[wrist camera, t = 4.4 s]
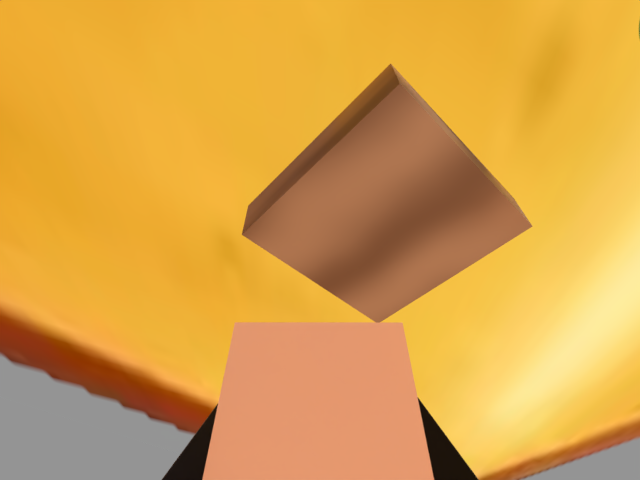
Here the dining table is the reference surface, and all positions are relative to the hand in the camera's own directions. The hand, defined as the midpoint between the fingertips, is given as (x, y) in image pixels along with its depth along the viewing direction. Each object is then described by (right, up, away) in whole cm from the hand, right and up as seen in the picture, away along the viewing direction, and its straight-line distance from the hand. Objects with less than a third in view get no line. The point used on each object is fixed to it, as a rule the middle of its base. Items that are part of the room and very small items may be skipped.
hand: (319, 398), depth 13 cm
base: (+3, +7, +9) cm, 12 cm away
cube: (0, +1, +1) cm, 1 cm away
